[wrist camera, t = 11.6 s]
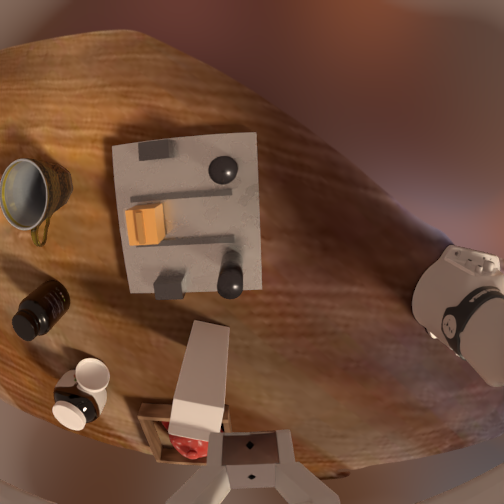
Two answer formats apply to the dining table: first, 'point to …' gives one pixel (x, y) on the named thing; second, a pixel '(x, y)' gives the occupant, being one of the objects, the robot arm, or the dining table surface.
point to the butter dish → (188, 445)
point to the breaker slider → (145, 224)
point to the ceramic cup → (33, 194)
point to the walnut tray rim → (163, 414)
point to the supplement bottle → (41, 310)
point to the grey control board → (193, 213)
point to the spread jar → (81, 394)
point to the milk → (201, 383)
